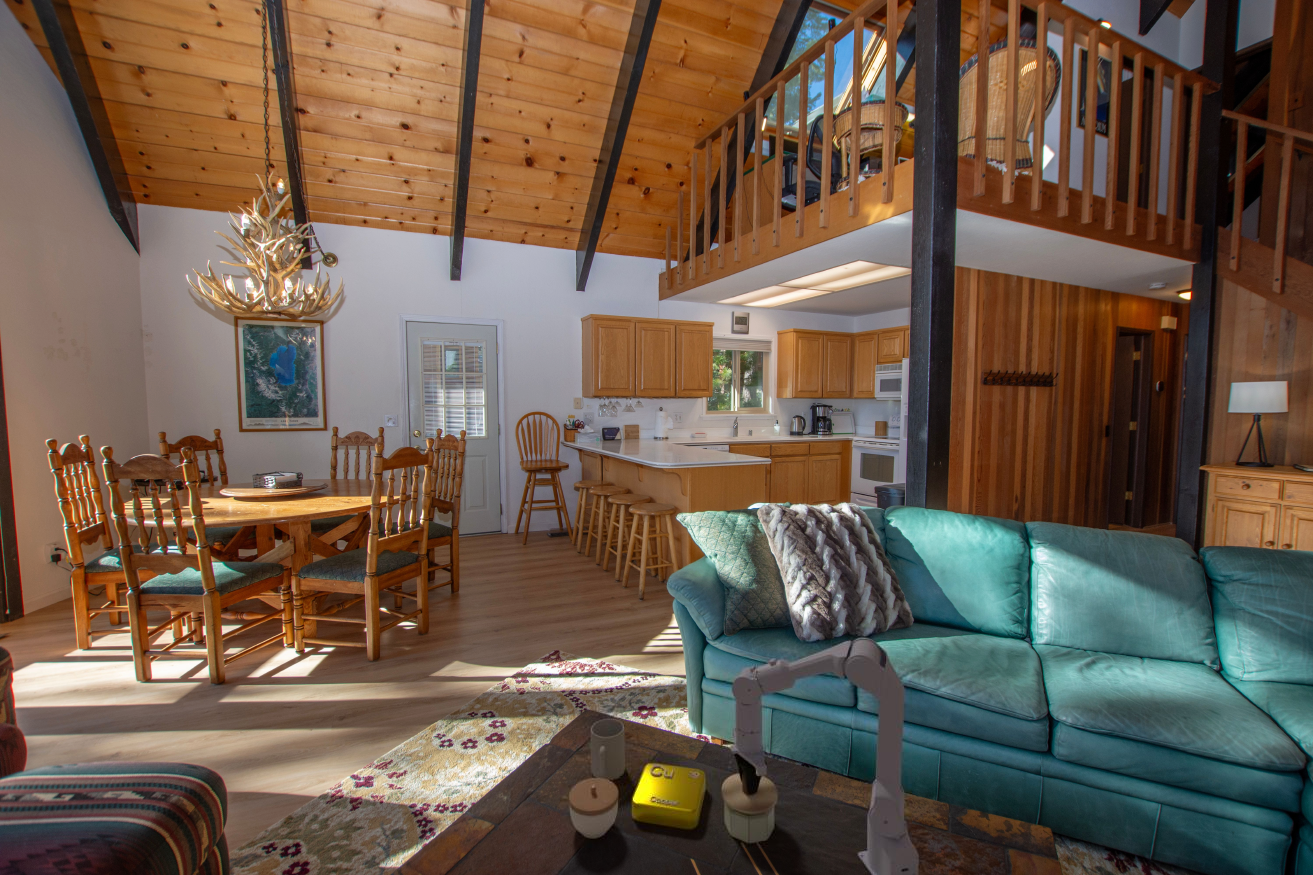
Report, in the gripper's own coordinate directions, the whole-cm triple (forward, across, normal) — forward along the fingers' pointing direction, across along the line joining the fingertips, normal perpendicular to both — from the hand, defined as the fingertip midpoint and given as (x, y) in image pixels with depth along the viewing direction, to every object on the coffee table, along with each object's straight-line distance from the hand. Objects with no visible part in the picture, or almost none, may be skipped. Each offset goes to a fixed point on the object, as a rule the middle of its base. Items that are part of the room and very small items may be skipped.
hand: (748, 786), depth 122 cm
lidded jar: (+9, -7, -33) cm, 35 cm away
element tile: (+9, -11, -15) cm, 21 cm away
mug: (+9, -24, -28) cm, 38 cm away
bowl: (+8, 0, 0) cm, 8 cm away
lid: (+2, 0, 0) cm, 2 cm away
